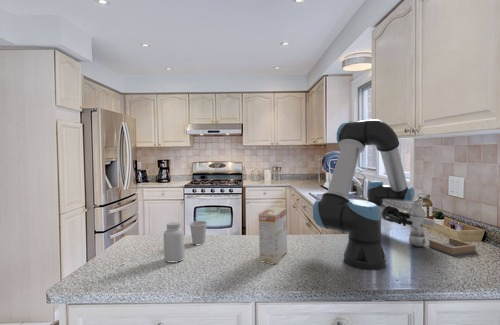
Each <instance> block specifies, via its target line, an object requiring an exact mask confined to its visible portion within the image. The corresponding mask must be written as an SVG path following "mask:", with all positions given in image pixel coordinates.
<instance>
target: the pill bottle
mask: <svg viewBox="0 0 500 325" xmlns="http://www.w3.org/2000/svg"><path fill="white" fill-rule="evenodd" d="M184 237H185V234H184V230H183V229H181V222H178V221H175V222H174V221H172V222H168V223H167V224H166V230H165V231H164V232H163V254H164V261H165V260H166V261H179V260H181V259H183V258H184V259H185V238H184ZM184 259H183V260H184Z"/></svg>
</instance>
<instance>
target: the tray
mask: <svg viewBox="0 0 500 325" xmlns="http://www.w3.org/2000/svg"><path fill="white" fill-rule="evenodd" d="M428 242H429V243H428V247H429V248H432V249H435V250H436V251H440V252H442V253H445V254H448V255H451V256H454V257H457V256H464V255H470V254H471V253H472V254H477V253H478V251H476V249H477V246H476V244H472V243H470V242H467V241H463V240H460V239H457V238H453V237H448V242H445V243H441V242H438V241H436V240H433V239H429V241H428Z"/></svg>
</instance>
